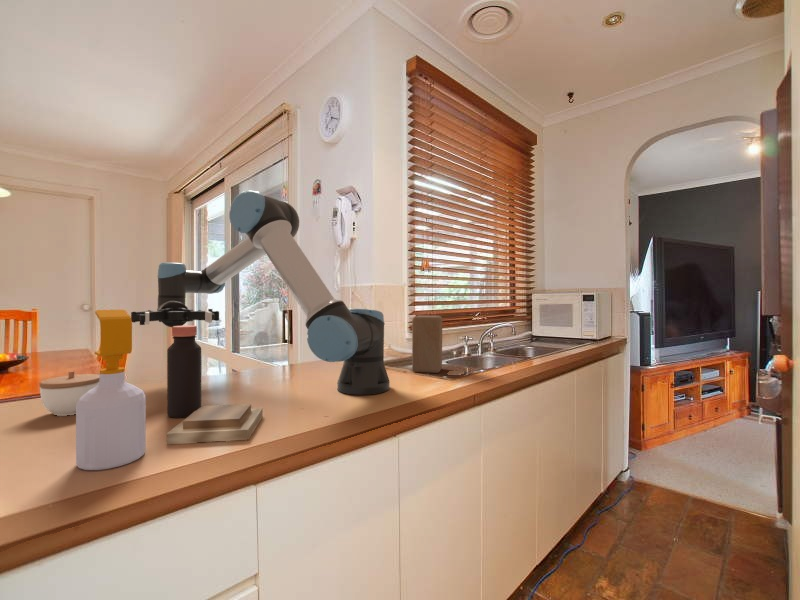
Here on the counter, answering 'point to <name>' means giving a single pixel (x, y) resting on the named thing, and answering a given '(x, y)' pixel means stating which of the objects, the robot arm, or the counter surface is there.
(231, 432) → the base
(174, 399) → the vinegar
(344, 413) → the counter surface
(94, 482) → the counter surface
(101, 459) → the soap bottle
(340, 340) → the robot arm
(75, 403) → the lidded jar
